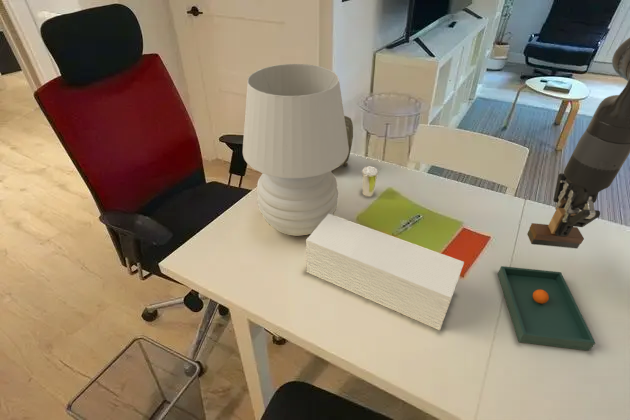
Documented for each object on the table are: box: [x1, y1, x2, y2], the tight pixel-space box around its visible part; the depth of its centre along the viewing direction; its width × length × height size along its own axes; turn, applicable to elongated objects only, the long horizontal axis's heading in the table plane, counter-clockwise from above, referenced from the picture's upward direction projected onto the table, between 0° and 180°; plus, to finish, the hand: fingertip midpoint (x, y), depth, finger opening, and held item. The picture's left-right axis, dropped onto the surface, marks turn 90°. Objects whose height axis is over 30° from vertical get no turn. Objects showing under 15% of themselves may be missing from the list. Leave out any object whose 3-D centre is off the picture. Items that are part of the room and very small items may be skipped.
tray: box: [497, 265, 596, 352], centre depth 80 cm, size 13×18×3 cm
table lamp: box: [242, 63, 349, 237], centre depth 91 cm, size 25×25×40 cm
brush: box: [526, 208, 585, 249], centre depth 76 cm, size 9×4×8 cm, turn 81°
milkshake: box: [362, 165, 381, 198], centre depth 111 cm, size 4×5×10 cm
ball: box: [533, 290, 549, 304], centre depth 81 cm, size 3×3×3 cm
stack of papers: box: [305, 214, 465, 331], centre depth 83 cm, size 32×11×11 cm, turn 60°
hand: (557, 229), depth 76 cm, fingers closed on brush, 2 cm apart
